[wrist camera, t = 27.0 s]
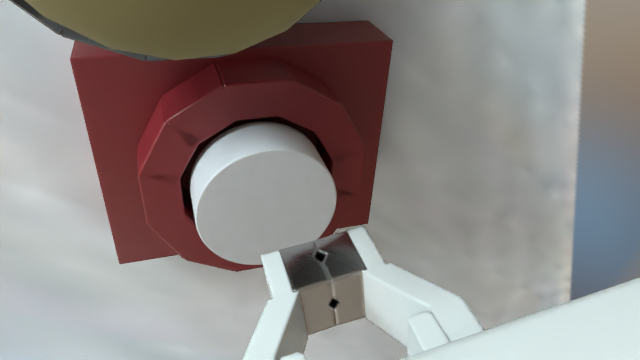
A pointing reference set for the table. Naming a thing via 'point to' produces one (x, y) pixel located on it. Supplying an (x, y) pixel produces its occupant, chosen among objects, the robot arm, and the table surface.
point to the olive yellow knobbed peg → (176, 23)
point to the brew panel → (228, 125)
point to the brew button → (260, 192)
